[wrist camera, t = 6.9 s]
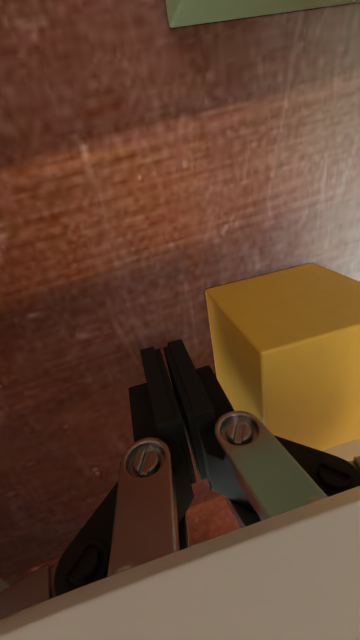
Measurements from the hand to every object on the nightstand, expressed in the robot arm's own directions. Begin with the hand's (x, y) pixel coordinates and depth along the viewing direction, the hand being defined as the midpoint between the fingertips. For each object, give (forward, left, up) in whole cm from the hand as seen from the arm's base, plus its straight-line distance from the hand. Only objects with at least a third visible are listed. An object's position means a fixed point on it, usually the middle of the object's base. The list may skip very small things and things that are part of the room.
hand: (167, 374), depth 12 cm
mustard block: (+4, -2, -2) cm, 5 cm away
